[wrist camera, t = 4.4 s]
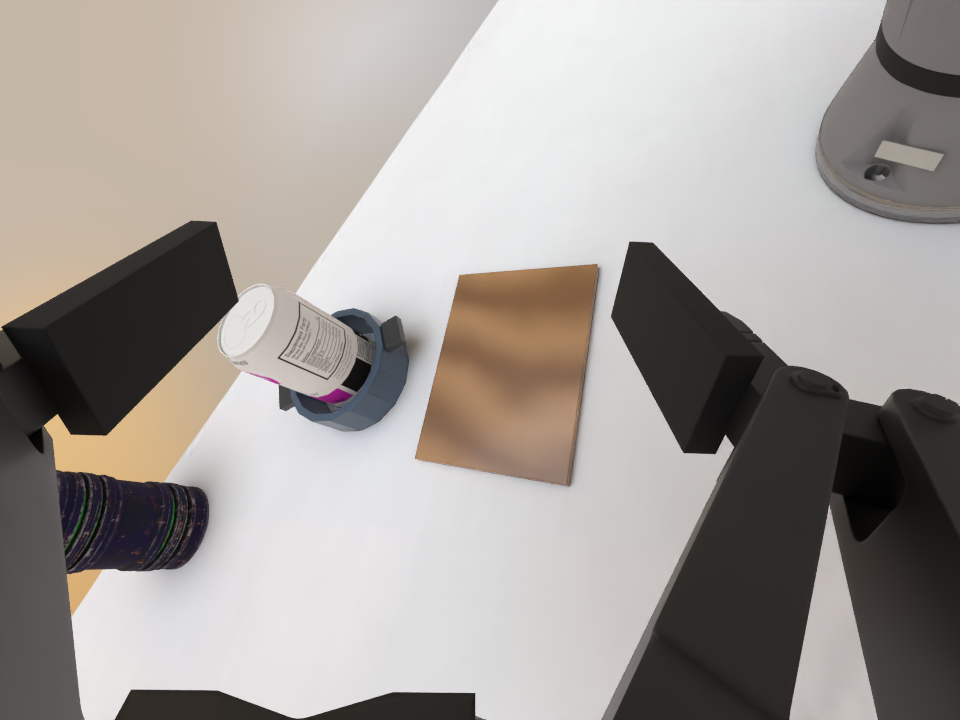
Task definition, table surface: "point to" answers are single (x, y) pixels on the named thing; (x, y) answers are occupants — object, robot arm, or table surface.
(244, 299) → the supplement can
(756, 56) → the table surface
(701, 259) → the table surface
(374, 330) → the pot
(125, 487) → the storage jar
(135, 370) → the robot arm
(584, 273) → the wooden board
